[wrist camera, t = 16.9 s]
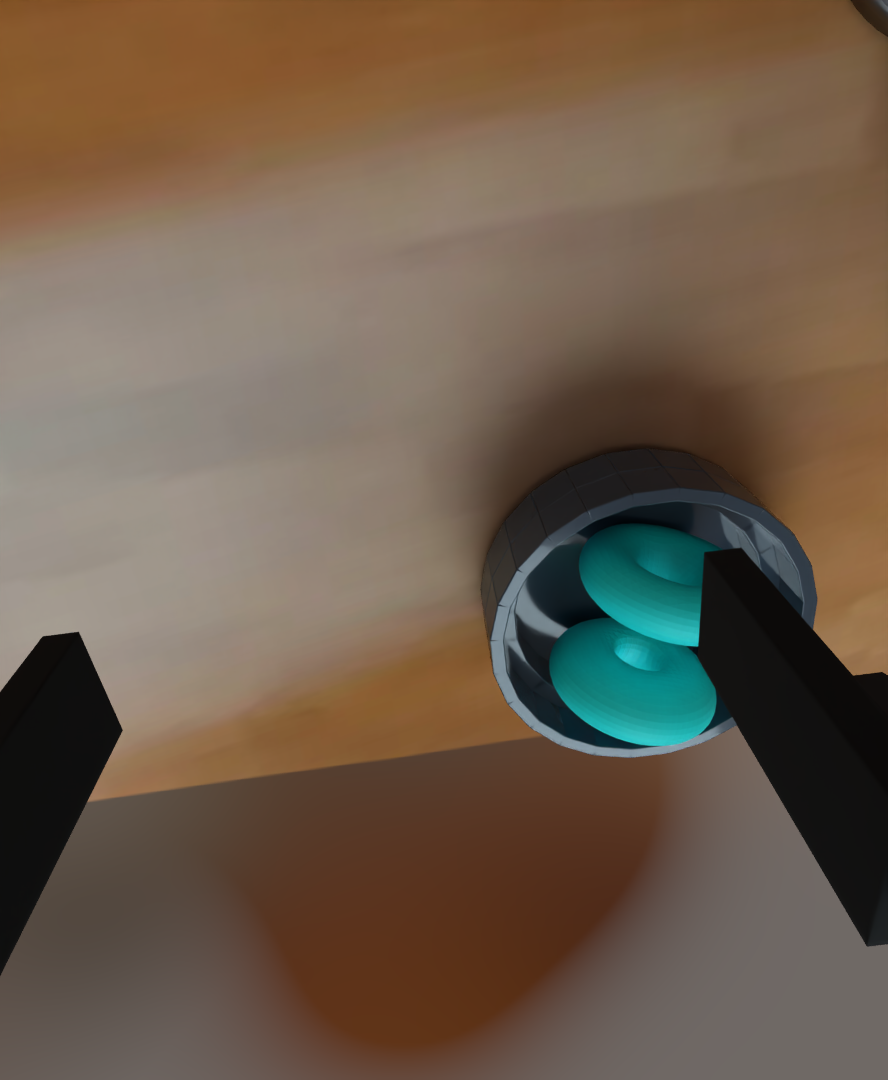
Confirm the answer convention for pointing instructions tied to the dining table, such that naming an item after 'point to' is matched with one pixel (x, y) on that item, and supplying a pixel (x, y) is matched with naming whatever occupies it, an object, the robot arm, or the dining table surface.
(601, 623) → the donuts
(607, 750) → the bowl
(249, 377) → the dining table surface
